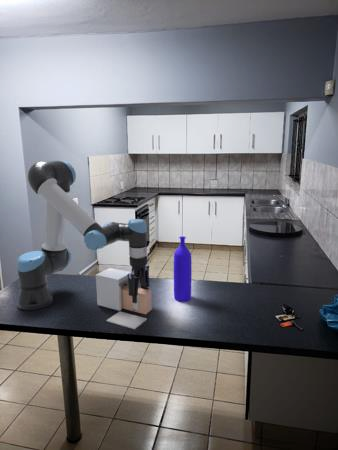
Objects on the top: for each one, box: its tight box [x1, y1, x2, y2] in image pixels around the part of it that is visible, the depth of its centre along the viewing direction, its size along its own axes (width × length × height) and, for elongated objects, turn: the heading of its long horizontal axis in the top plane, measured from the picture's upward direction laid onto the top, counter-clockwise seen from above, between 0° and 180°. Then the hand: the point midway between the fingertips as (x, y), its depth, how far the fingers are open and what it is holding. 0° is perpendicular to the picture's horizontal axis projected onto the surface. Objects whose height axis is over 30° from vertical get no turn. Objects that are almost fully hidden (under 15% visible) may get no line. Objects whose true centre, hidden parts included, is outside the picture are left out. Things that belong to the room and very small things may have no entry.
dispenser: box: [95, 267, 131, 312], centre depth 154 cm, size 13×10×14 cm
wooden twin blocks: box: [121, 284, 153, 315], centre depth 150 cm, size 16×5×9 cm, turn 61°
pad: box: [106, 310, 148, 330], centre depth 140 cm, size 14×9×1 cm, turn 61°
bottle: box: [173, 236, 193, 303], centre depth 156 cm, size 8×8×30 cm
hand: (139, 306), depth 148 cm, fingers closed on wooden twin blocks, 5 cm apart
